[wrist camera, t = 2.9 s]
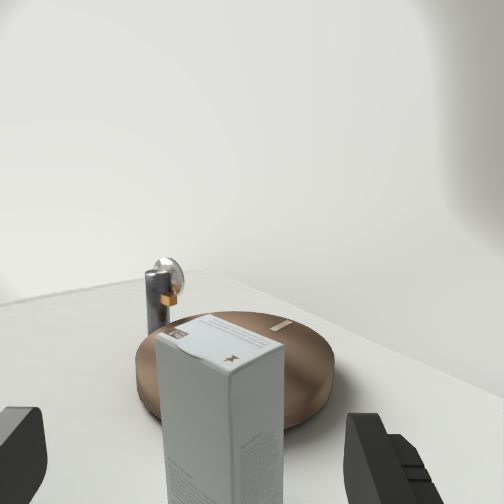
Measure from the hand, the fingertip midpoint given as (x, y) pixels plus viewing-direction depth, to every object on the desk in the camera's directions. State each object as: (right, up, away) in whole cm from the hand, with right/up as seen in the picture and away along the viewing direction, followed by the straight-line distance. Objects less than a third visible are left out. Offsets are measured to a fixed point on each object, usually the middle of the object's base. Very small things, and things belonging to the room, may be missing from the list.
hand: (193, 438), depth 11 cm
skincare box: (0, -11, +15) cm, 19 cm away
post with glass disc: (-9, -5, +37) cm, 38 cm away
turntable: (0, -7, +30) cm, 31 cm away
